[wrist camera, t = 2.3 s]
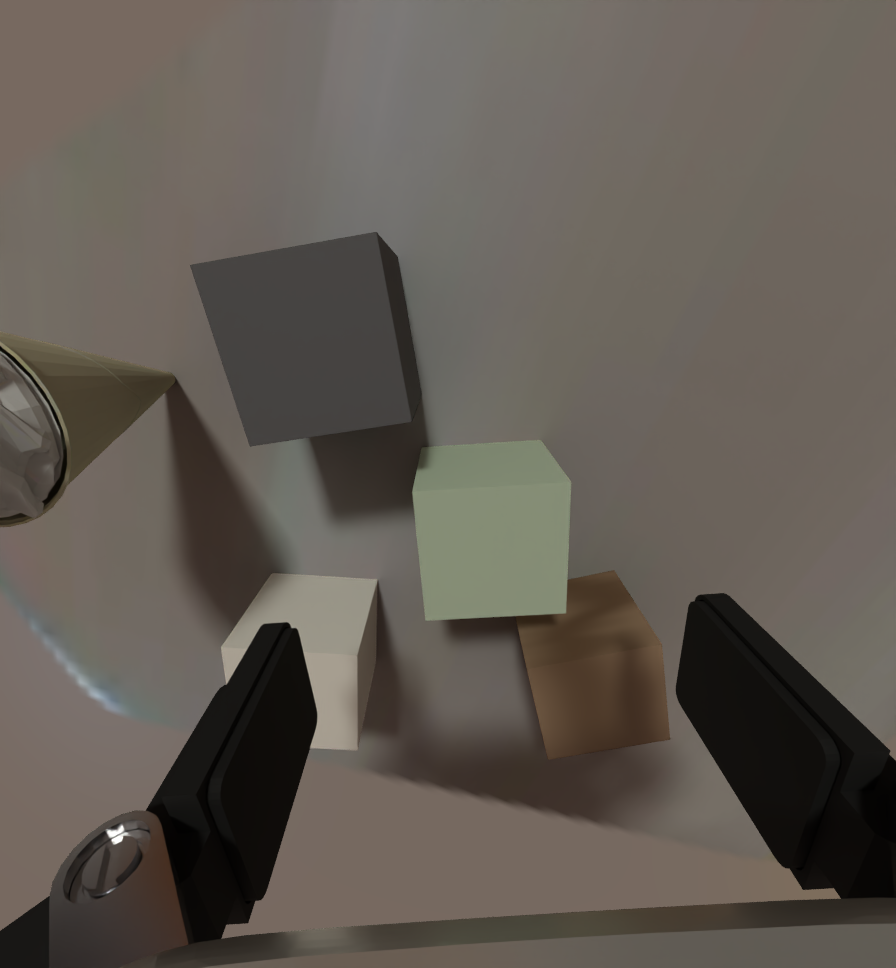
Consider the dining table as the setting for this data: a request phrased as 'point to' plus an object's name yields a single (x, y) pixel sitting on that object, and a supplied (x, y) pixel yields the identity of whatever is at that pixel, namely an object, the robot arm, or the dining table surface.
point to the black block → (313, 337)
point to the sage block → (492, 530)
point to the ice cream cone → (61, 417)
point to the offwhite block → (321, 645)
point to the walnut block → (595, 671)
